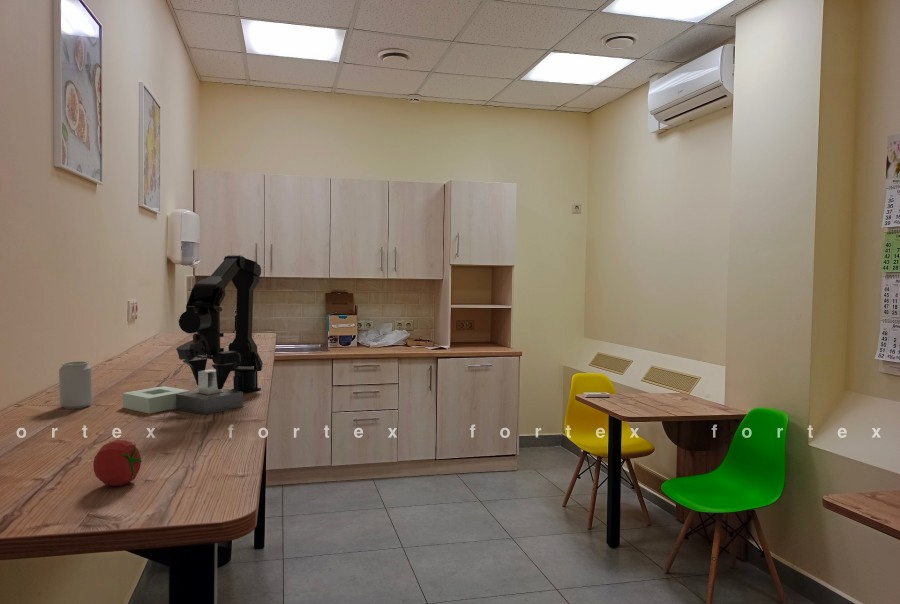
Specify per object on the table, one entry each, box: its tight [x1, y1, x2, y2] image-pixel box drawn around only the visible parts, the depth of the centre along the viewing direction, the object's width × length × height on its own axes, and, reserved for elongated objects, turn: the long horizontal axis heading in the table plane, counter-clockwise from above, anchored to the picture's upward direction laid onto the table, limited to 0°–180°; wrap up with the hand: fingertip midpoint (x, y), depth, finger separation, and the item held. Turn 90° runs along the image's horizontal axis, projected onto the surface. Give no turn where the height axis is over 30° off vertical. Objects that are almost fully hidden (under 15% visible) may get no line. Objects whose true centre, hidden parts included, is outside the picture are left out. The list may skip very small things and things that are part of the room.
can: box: [58, 360, 93, 410], centre depth 167 cm, size 8×8×12 cm
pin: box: [197, 368, 221, 396], centre depth 167 cm, size 4×4×10 cm
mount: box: [175, 387, 244, 416], centre depth 167 cm, size 12×12×4 cm
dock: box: [122, 385, 191, 414], centre depth 168 cm, size 12×12×4 cm
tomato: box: [92, 439, 143, 487], centre depth 108 cm, size 8×8×8 cm
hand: (209, 387), depth 167 cm, fingers open, 8 cm apart
